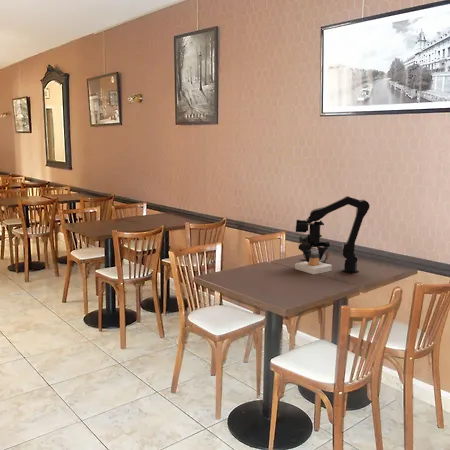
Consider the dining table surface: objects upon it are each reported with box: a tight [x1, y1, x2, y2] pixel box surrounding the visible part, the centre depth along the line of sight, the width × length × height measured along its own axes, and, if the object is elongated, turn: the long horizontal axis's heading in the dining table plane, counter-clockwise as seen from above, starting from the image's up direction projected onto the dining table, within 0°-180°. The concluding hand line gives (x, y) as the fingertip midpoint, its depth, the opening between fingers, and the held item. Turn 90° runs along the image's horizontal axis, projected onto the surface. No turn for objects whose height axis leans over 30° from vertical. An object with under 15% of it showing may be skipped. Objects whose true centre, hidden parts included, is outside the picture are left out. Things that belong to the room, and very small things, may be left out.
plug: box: [308, 253, 319, 266], centre depth 261 cm, size 4×4×9 cm
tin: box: [302, 247, 329, 263], centre depth 280 cm, size 15×3×8 cm, turn 58°
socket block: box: [294, 260, 333, 275], centre depth 262 cm, size 14×14×3 cm
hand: (313, 261), depth 261 cm, fingers open, 9 cm apart
